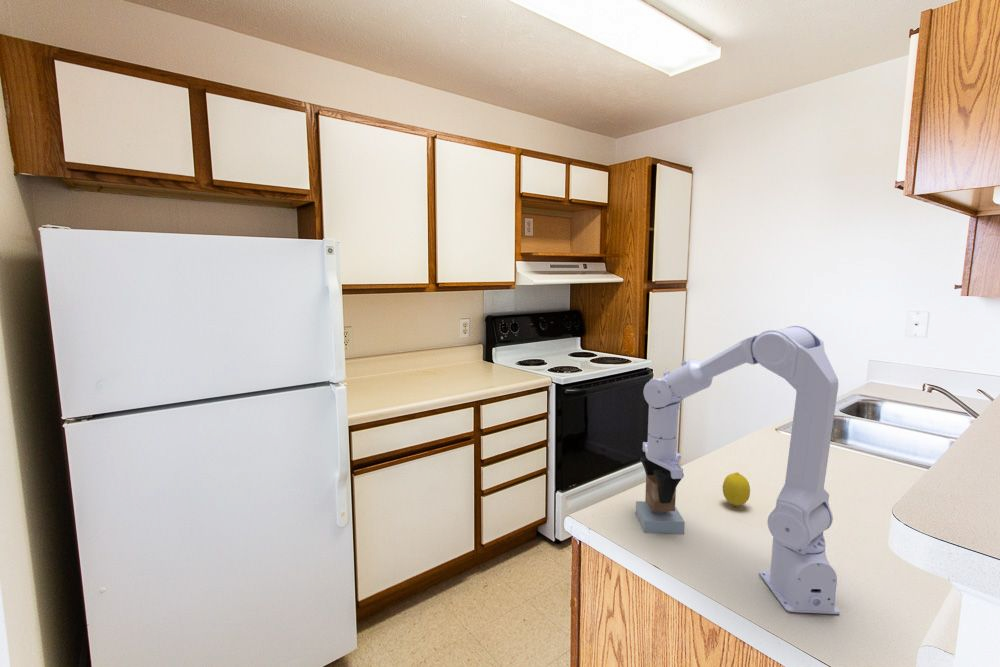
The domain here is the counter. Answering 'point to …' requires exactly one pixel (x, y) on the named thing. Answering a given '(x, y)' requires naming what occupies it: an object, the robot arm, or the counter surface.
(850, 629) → the counter surface
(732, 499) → the lemon
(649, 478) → the walnut block
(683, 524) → the blue-gray block
